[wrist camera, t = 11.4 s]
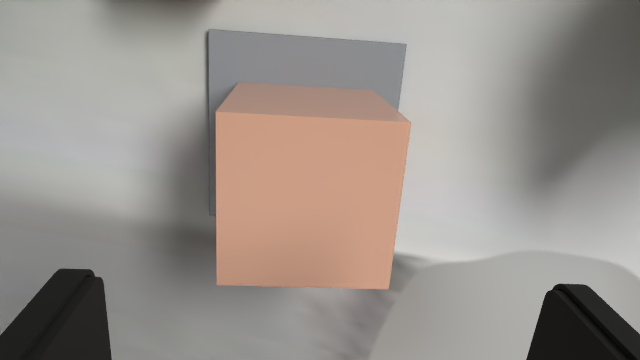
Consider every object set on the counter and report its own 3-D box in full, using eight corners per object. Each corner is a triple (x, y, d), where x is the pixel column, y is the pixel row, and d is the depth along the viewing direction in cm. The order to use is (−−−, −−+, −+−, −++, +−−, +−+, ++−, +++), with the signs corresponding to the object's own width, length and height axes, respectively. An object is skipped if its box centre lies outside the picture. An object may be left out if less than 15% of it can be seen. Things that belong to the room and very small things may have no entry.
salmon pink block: (238, 82, 24) (215, 111, 16) (372, 90, 24) (411, 122, 17) (237, 207, 26) (216, 285, 18) (360, 212, 26) (388, 289, 19)
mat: (209, 29, 23) (208, 29, 23) (404, 43, 24) (406, 44, 24) (210, 212, 26) (209, 215, 26) (382, 219, 27) (383, 222, 27)
